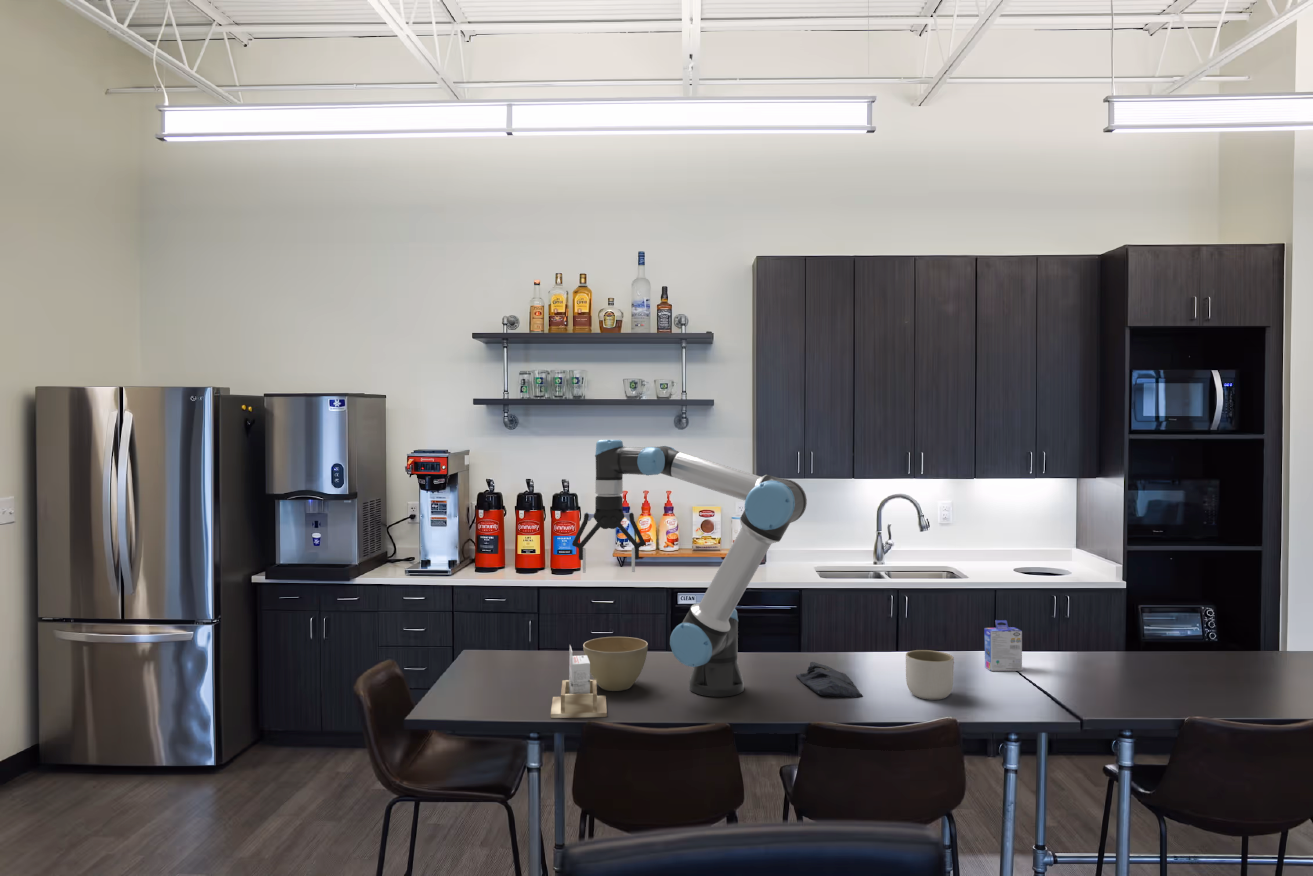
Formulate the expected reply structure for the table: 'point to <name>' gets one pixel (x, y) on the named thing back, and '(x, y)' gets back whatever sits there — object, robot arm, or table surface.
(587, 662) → the ink box
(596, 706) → the frame
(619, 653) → the flower pot
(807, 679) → the dark slate chunk
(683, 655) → the robot arm
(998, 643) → the ink cartridge box
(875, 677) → the table surface
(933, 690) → the planter
